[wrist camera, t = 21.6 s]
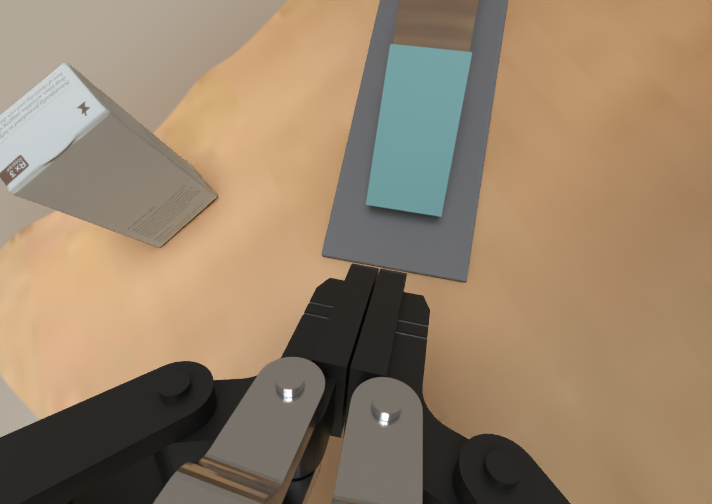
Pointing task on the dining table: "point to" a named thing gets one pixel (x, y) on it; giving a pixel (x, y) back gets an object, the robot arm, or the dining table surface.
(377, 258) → the domino mat
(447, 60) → the domino
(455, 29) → the domino
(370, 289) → the robot arm
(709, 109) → the dining table surface
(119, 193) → the skincare box
